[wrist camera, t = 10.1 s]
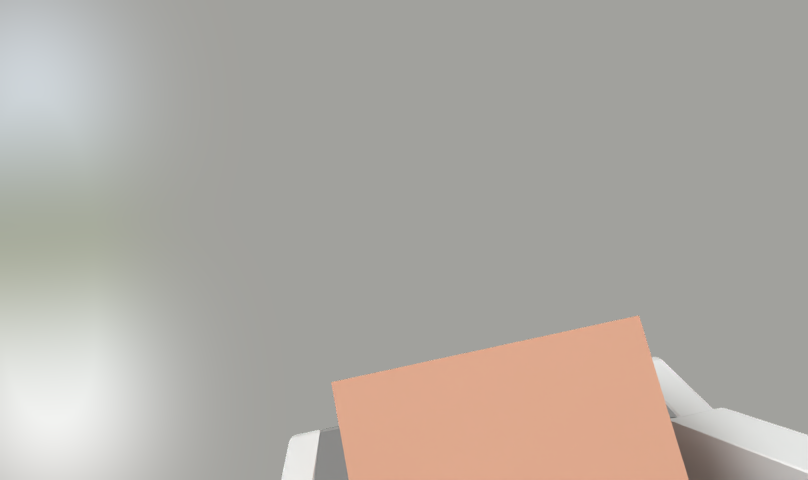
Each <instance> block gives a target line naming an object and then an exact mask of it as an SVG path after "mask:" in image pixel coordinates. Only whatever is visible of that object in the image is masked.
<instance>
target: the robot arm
mask: <svg viewBox="0 0 808 480" xmlns="http://www.w3.org/2000/svg"><path fill="white" fill-rule="evenodd" d="M652 360H653V363H654V367H655V370H656V373H657V377H658V380H659V383H660V386H661V390H662V393H663V396H664V400H665V403H666V406H667V410H668V413H669V416H670V419H671V423H672V426H673V429H674V433H675V436H676V439H677V443H678V446H679V449H680V452H681V456H682V459H683V462H684V466H685V469H686V472H687V476H688V479H689V480H808V435H806V434H803V433H800V432H797V431H794V430H790V429H787V428H784V427H781V426H778V425H775V424H772V423H769V422H766V421H763V420H760V419H757V418H753V417H751V416H747V415H744V414H741V413H738V412H735V411H732V410H729V409H726V408H718V409H713V408H712V407H711V406H710V405H708V404H707V403H706V402H705V401H704V400H703V399H702V398H701V397H700V396H699V395H698V394H697V393H696V392H695V391H694V390H693V389H692V388H691V387H690V386H689V385H688V384H686V383H685V382H684V381H683V380H682V379H681V378H680V377H679V376H678V375H677V374H676V373H675V372H674V371H673V370H672V369H671V368H670V367H669V366H668V365H667V364H666V363H665V362H664V361H663V360H662V359H660V358H657V357H652ZM281 480H349V478H348V473H347V467H346V462H345V456H344V450H343V445H342V439H341V433H340V428H339V426H337V427H332V428H326V429H323V430H316V431H311V432H307V433H302V434H298V435H294V436H293V437H292V438H291V439H290V441H289V445H288V450H287V455H286V460H285V465H284V470H283V474H282V479H281Z"/></svg>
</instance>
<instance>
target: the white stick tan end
mask: <svg viewBox="0 0 808 480" xmlns="http://www.w3.org/2000/svg"><path fill="white" fill-rule="evenodd" d="M332 388H333V394H334V400H335V405H336V411H337V417H338V422H339V428H340V433H341V439H342V445H343V450H344V456H345V462H346V467H347V473H348V478H349V480H689V479H688V476H687V472H686V469H685V466H684V462H683V459H682V456H681V452H680V449H679V446H678V443H677V439H676V436H675V433H674V429H673V426H672V423H671V419H670V416H669V413H668V410H667V406H666V403H665V400H664V396H663V393H662V390H661V386H660V383H659V380H658V377H657V373H656V370H655V367H654V363H653V360H652V357H651V354H650V350H649V347H648V344H647V340H646V337H645V334H644V330H643V327H642V324H641V320H640V317H639V316H634V317H630V318H625V319H621V320H616V321H611V322H607V323H602V324H598V325H593V326H588V327H584V328H579V329H574V330H570V331H565V332H561V333H557V334H551V335H547V336H542V337H538V338H533V339H528V340H524V341H519V342H515V343H511V344H505V345H501V346H496V347H492V348H487V349H483V350H478V351H474V352H469V353H465V354H460V355H455V356H451V357H446V358H441V359H436V360H432V361H427V362H422V363H418V364H414V365H409V366H404V367H400V368H395V369H390V370H386V371H381V372H377V373H372V374H367V375H363V376H358V377H354V378H349V379H345V380H340V381H335V382H332Z"/></svg>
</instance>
